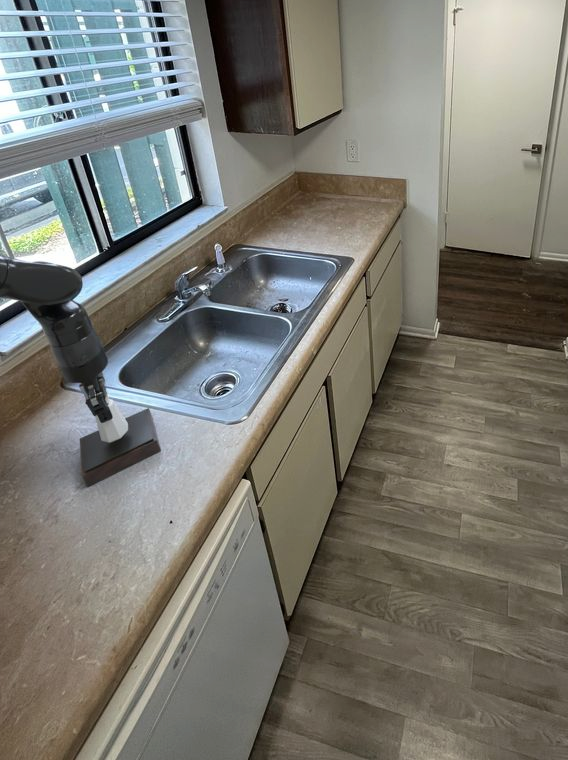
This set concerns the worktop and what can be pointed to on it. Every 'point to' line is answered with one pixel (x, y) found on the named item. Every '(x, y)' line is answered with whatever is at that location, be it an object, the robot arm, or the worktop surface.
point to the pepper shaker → (112, 424)
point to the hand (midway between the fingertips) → (106, 412)
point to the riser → (118, 449)
